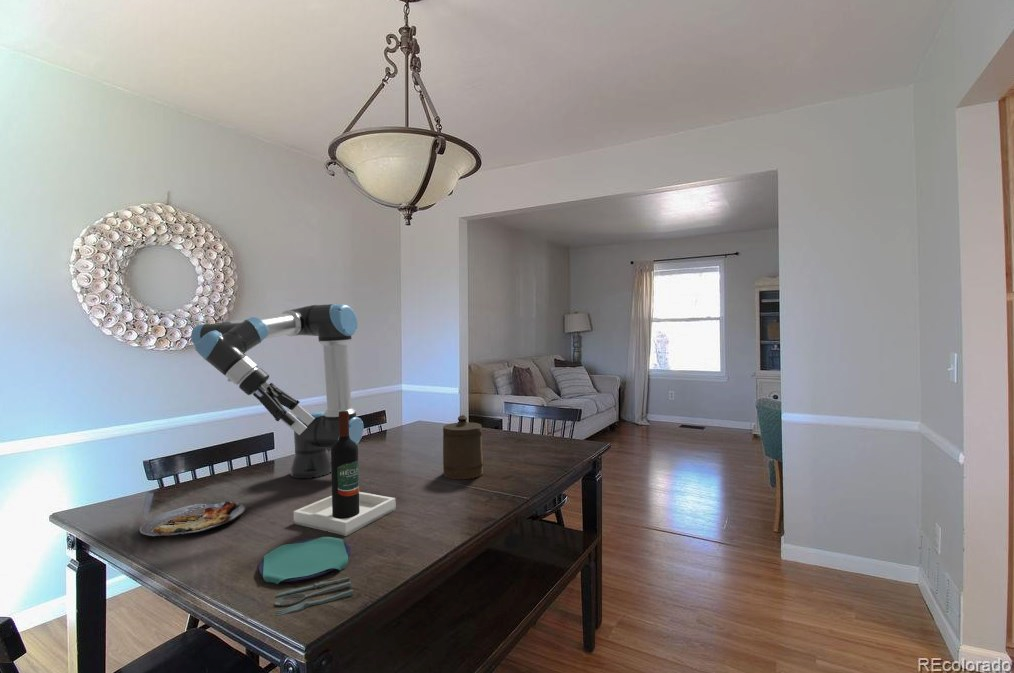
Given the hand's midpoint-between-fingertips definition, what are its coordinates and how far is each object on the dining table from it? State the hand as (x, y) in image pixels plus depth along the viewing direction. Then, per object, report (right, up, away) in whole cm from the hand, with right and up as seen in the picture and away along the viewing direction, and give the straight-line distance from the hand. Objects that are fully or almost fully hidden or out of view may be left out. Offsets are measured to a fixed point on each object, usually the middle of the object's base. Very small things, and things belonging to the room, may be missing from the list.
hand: (307, 426), depth 135 cm
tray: (+10, -27, +3) cm, 29 cm away
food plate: (-32, -28, 0) cm, 43 cm away
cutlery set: (+12, -28, -29) cm, 43 cm away
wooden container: (+41, -26, +42) cm, 64 cm away
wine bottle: (+10, -26, +3) cm, 28 cm away
